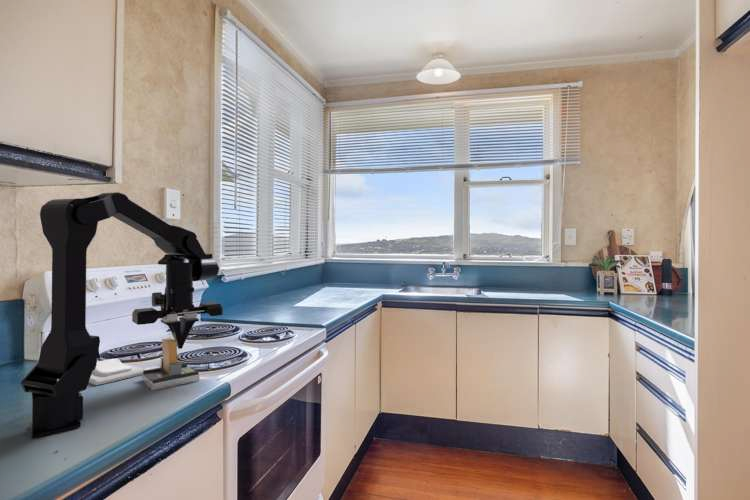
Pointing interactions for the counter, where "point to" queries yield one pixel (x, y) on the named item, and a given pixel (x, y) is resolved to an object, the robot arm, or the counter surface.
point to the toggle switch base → (169, 376)
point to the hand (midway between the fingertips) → (179, 348)
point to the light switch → (113, 371)
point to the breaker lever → (169, 352)
